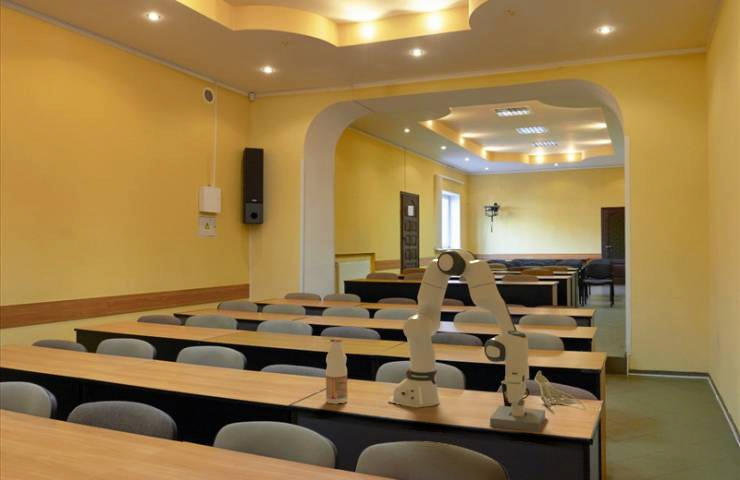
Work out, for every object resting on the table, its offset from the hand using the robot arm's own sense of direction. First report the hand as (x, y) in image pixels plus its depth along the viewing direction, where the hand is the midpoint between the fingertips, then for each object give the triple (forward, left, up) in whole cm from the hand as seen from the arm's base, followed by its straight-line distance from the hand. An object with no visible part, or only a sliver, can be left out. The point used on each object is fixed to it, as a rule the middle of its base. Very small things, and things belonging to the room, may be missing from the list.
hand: (517, 409), depth 222 cm
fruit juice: (-79, 0, -5) cm, 79 cm away
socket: (0, 0, -5) cm, 5 cm away
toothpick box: (0, 0, -5) cm, 5 cm away
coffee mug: (-5, +20, -5) cm, 21 cm away
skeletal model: (+10, +30, -5) cm, 32 cm away
